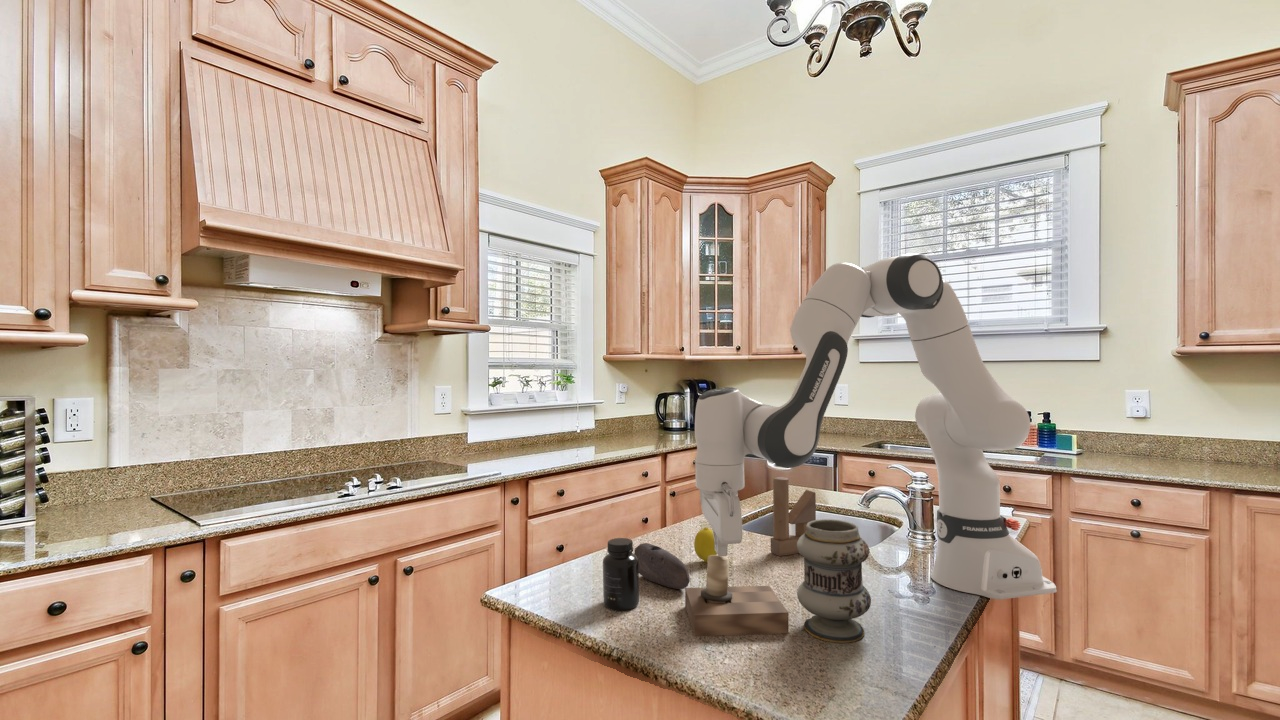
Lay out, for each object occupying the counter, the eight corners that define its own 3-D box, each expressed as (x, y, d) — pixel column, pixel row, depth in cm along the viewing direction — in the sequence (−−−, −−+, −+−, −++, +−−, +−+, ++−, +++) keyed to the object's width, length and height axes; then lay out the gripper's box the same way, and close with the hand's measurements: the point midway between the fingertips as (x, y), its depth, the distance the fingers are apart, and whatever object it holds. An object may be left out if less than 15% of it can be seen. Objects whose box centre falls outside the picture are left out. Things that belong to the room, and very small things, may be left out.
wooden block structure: (816, 551, 144) (815, 476, 144) (779, 557, 140) (778, 480, 140) (806, 546, 148) (806, 473, 148) (769, 552, 143) (769, 477, 143)
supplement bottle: (615, 594, 118) (615, 534, 118) (645, 601, 115) (645, 539, 115) (595, 607, 112) (595, 543, 112) (626, 614, 109) (626, 548, 109)
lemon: (706, 568, 133) (706, 532, 133) (689, 561, 137) (689, 527, 137) (723, 562, 136) (723, 527, 136) (706, 556, 141) (706, 522, 141)
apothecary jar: (814, 609, 111) (813, 511, 111) (881, 627, 103) (880, 522, 103) (785, 632, 101) (784, 526, 101) (856, 654, 94) (855, 539, 94)
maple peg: (727, 609, 110) (730, 554, 111) (734, 621, 105) (737, 562, 105) (697, 608, 110) (700, 553, 111) (702, 619, 104) (705, 561, 105)
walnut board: (769, 604, 113) (769, 585, 113) (788, 633, 101) (788, 612, 101) (685, 606, 112) (685, 588, 112) (694, 636, 100) (694, 615, 100)
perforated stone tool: (697, 591, 120) (697, 556, 120) (678, 598, 117) (677, 562, 117) (650, 571, 132) (650, 539, 132) (631, 576, 128) (631, 544, 128)
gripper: (751, 489, 98) (752, 573, 98) (725, 467, 119) (726, 536, 119) (713, 490, 98) (714, 575, 98) (694, 467, 118) (695, 537, 118)
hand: (721, 553), depth 108 cm, fingers closed
